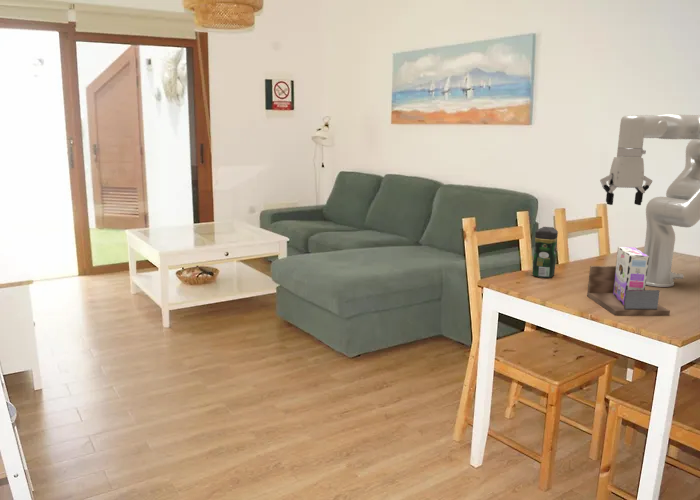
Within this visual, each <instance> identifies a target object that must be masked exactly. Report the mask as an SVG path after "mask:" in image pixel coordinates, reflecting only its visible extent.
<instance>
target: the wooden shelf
mask: <svg viewBox="0 0 700 500" xmlns="http://www.w3.org/2000/svg"><path fill="white" fill-rule="evenodd" d="M615 271H616V265H590V266H589V273H588V284H587V293H586V296H587V297H588V298H589V299H591V300H592V301H593V302H594V303H597V304H598V305H600V306H601V307H602V308H603V309H605V310H607V311H608V312H609V313H611V314H612V315H614V316H670V314H671V310H669V309H668V308H666V307H664V306H663V305H661V304H660V303H658V307H657V310H625V309H624V305H623V304H622V303H621V302H620V301H619V300H618V299H617V298H616V297H615V296H614V295H613V290H614V280H615Z"/></svg>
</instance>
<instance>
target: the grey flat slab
mask: <svg viewBox="0 0 700 500" xmlns="http://www.w3.org/2000/svg"><path fill="white" fill-rule="evenodd" d="M659 297H660V290H658V289H645V290H626V295H625V303H624V309H625V310H657V307H658V304H659Z"/></svg>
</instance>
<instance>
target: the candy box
mask: <svg viewBox="0 0 700 500" xmlns="http://www.w3.org/2000/svg"><path fill="white" fill-rule="evenodd" d="M648 261H649V256H648V255H646V254H644V251H642V250H640V249H638V248H637V247H635V246H633V247H631V246H617V252H616V262H615V266H616V271H615V280H614V290H613V295H614V296H615V297H616V298H617V299H618V300H619V301H620V302H621V303H622V304H623V305H624V303H625V295H626V290H646V285H645V283H646V276H647V269H648Z"/></svg>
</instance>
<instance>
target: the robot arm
mask: <svg viewBox="0 0 700 500" xmlns="http://www.w3.org/2000/svg"><path fill="white" fill-rule="evenodd" d="M645 139H659V140H660V139H661V140H690V141H688V143H687V145H686V147H685V166H684V168H683V170H682V171H681V173H680V174H679V175H677V177H676V178H675V179H674V180H673V181H672V183H670V185H669V186H668V188H667V190H666V193H665V195H666V196H656V197H653V198H651V199H650V200H648V201H647V204H646V207H645V216H646V217H645V218H646V232H645V240H644V247H643V248H644V250H643V253H644V254H646V255H648V256H649V261H648V269H647V276H646V283H645V286H649V287H650V286H651V287H657V288H669V287H673V286H674V285H675V281H674V280H676V279H677V280H678V279H679V280H681V279H684V277H685V276H684V274H683V273H676V272H673V271H672V266H673V259H674V258H673V257H674V252H675V250H674V249H675V244H676V232H675V230H674V228H673V226H674V227H680V228H691V227H693V226H695V225H696V224H697V223H698V222H699V221H700V114H675V113H674V114H660V115H655V114H651V115H650V114H635V115H634V114H632V115H623V116H622V117H621V118H620V124H619V135H618V143H617V149H616V150H617V152H616V157H613V159H612V163H611V164H610V170H609V174H608V175H607V176H605V177H603V178H601V179H600V180H599V181H600V185H601V188H602V189H604V191H605V193H606V195H605V197H606V198H605V202H606V205H609V206H613V204H614V196H615V194H614V191H615V190H616V189H617V188H620V189H621V188H625V189H628V188H633V189H635V190H636V192H635V195H634V205H637V206H641V205H642V202H643V197H644V194H645V193H646V191H647V190H648V189H649V188H650V186H651V185H652V183H653V179H651V178H650V177H647V176H646V175H645V164H644V157H643V156H644V155H646V150H645V149H644V148H643V146H644V140H645ZM607 182H608V184H607ZM644 182H645V183H644Z"/></svg>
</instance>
